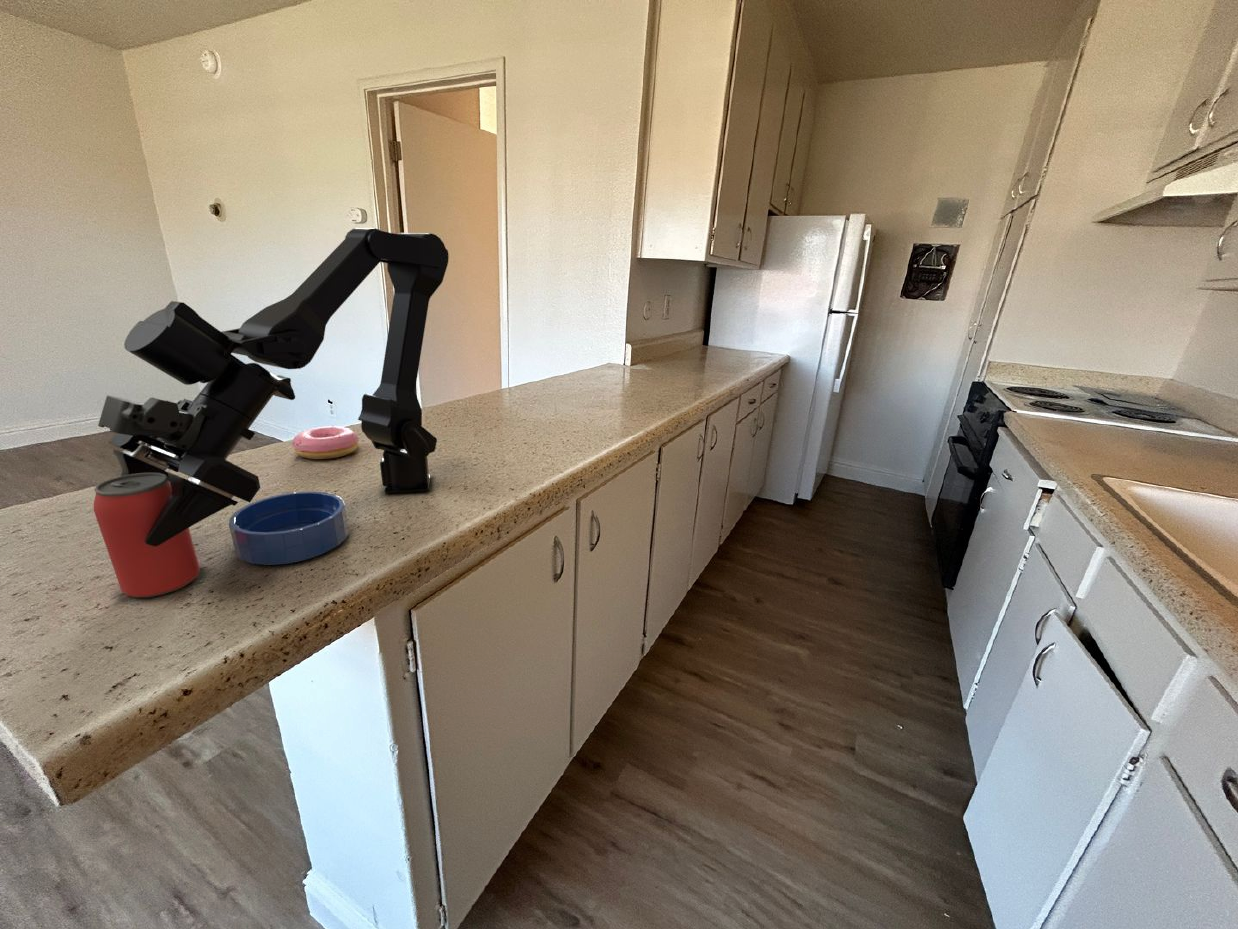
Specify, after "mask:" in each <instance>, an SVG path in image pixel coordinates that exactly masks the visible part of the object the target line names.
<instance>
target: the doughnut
mask: <svg viewBox="0 0 1238 929" xmlns="http://www.w3.org/2000/svg"><path fill="white" fill-rule="evenodd" d="M359 442H360V438H359V437H358V434H357V433H356V432H355V430H353V429H350V428H349V427H344V426H343V427H342V426H334V425H332V426H320V427H314V428H309V429H306V430H302V431H301V432H299V433H298V434H297V435H296V436H294V438H293V441H292V442H291V445H292V448H293V450H294V452H295V453H296V454H297V455H298V456H300V457H302V458H304V459H308V460H309V459H310V460H330V459H337V458H340V457H344V456H346V455H347V456H348V455H349V454H351V453H353V452H354V451H355V450H356V449H357V448H358V447H359Z"/></svg>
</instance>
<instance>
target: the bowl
mask: <svg viewBox="0 0 1238 929" xmlns="http://www.w3.org/2000/svg"><path fill="white" fill-rule="evenodd" d="M228 527H229V531H230V532H229V533H230V536H231V539H232V540H231V541H232V544H233V548H234V552H235V555H236V556H237V557H238V558H239V560H241V561H243V562H246V563H249V564H253V565H264V566H265V565H267V566H273V565H285V564H293V563H298V562H302V561H306V560H309V559H313V558H315V557H318V556H320V555H323V554H325V553H327V552H329V551H331V550H333V549H335V548H336V547H338V546H340V545H341V544H342V543H343V542H344V541H345V540H346V539H347V537H348V534H349V532H350V530H349V529H350V528H349V522H348V515H347V509H346V504H345V501H344V499H343V498H341V497H340V496H339V495H337V494H335V493H334V494H333V493H330V492H326V491H325V492H324V491H298V492H295V491H294V492H288V493H282V494H276V495H273V496H269V497H265V498H262V499H259V500H256V501H253V502H250V503H248V504H246V505H245V506H243V507H241V508H240V509H238V510H236V511H234V513H233V514H232V515H231V516H230V517H229V518H228Z"/></svg>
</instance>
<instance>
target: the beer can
mask: <svg viewBox="0 0 1238 929" xmlns="http://www.w3.org/2000/svg"><path fill="white" fill-rule="evenodd" d="M168 479H169V478H168V476H167V475H165V474H161V473H153V472H152V473H137V474H130V475H125V476H121V475H120V476H116V477H113V478H110V479H107V480H104V481H102V482H101V483H99V484H97V485H96V486H95V487H94V488H93V490H94V492H95V494H94V495H95V496H94V499H93V500H94V501H93V513H94V516H95V518H96V522H97V523H98V527H99V529H100V533H101V536H102V538H103V542H104V544H105V547H106V550H107V553H108V556H109V559H110V562H111V565H112V567H113V571H114V573H115V577H116V580H117V582H118V585H119V589H120V590H121V593H122V594H125V595H127V596H129V597H131V598H132V597H133V598H154V597H157V596H158V597H159V596H162V595H167V594H170V593H173V592H175V591H177V590H179V589H181V588H184V587H185V586H187V585H189V584H190V583H192V582H193V581H194V580H195V579H196V578H197V577H198V575H199V573H200V570H201V567H200V563H199V560H198V556H197V553H196V549H195V546H194V542H193V541H194V540H193V538H192V535H191V531H190V527H189V528H187V529H186V530H184V531H182V532H181V533H179V534H177V535H176V536H174V537H172V538H171V539H169V540H167V541H165V542H164V543H162V544H160V545H159V546H151V545H148V544H146V543H145V539H146V537H147V535H148V533H149V531H150V529H151V527H152V526H153V524H154V522H155V521H156V519H157V517H158V516H159V514H160V512H161V511H162V509H163V507H164V505H165V504H166V502H167V500H168V499H169V497H170V495H171V493H172V489H171V485H170V482H169V481H168Z"/></svg>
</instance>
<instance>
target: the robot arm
mask: <svg viewBox="0 0 1238 929" xmlns="http://www.w3.org/2000/svg"><path fill="white" fill-rule="evenodd" d="M449 255H450V254H449V250H448V249H447V248H446V246H445V242H443V240H442V239H441V237H439V236H438V235H437V234H434V233H429V232H428V233H427V232H422V233H421V232H399V233H393V232H388V231H384V230H381V229H379V228H377V227H375V228H374V227H354V228H352V229H351V230H349V231H348V232H346V235H345V236H344V239H343V240H342V241H341V242H340V244H338V245H337V246H336V248H334V250H332V251H331V253H330V254H329V255H328V256H327V257H326V258H325V259H324V260H323V261H322V262H321V264H319V265H318V266H317V268H316V269H315V270H314V271H313V272H312V273H311V274H309V276H308V277H307V278H306V279H305V280H303V282H302V283H301V284H300V285H299V286H298V287H297V288H296V289H295V290H294V291H293V292H292V293H291V294H290V295H288V296H287V297H285V298H284V299H281V300H279V301H277V302H275V303H273V304H270V305H268V306H266V307H264V308H263V309H261V310H259V311H258V312H257V313H255V314H254V315H252V316H251V317H249V318H248V319H246V320H245V321H244V322H243V323H242V324H241V326H240V327H238V328H234V329H233V328H232V329H228V330H222V331H221V330H219V329H218V328H217V327H215V326H214V325H213V324H211V323H209V322H208V321H207V320H205V319H204V318H202V317H201V316H200V314H198V313H197V311H195V310H194V309H193V308H192V307H191V306H189V305H188V304H186V303H185V302H181V301H174V300H171V301H170V302H169V303H168V304H167V305H166V306H165V307H164V308H162V309H159V310H157V311H155V312H154V313H152V314H150V315H149V316H147V317H146V318H145V319H144V320H140V321H138V322H137V323H136V324H135V325H134V326H133V327H132V329H130V331H129V333H128V334H127V336H126V337H125V340H124V344H123V347H124V349H125V350H126V351H127V352H129V353H130V354H132V355H134V356H135V357H137V358H139V359H140V360H142V361H144V362H145V363H147V364H149V365H150V366H152V367H154V368H156V369H157V370H159V371H161V372H163V373H164V374H166V375H167V376H170V377H171V378H173V379H175V380H177V381H178V382H180V383H182V385H185V386H188V385H189V386H191V385H195V384H198V383H200V384H205V386H204V387H203V388H202V389H201V390H200V392H199V393H198V394H197V395H196V396H195V398H194V399H193V400H189V399H186V398H183V399H180V400H178V401H177V402H174V401H171V400H164V399H160V398H156V397H154V396H153V397H149V398H148V399H147V400H146V401H145V402H143V401H138V400H134V399H128V398H124V397H123V398H122V397H119V396H113V395H106V397H105V400H104V403H103V406H102V411H101V413H100V416H99V421H98V424H97V426H98V427H99V428H107V429H109V431H110V432H112V433H115V434H114V435H113V437H112V438H110V440H109V442H108V444H111V445H113V446H115V447H118V448H120V449H122V451H120V450H117V449H116V448H113V450H112V453H113V455H114V456H116V459H117V461H118V463H119V465H120V468H121V474H120V476H125V475H130V474H137V473H152V472H153V473H161V474H165V475H167V476H168V478H169V479H168V481H169V482H170V485H171V489H172V493H171V495H170V497H169V499H168V500H167V502H166V504H165V505H164V507H163V509H162V511H161V512H160V514H159V516H158V517H157V519H156V521H155V522H154V524H153V526H152V527H151V529H150V531H149V533H148V535H147V537H146V539H145V543H146V544H148V545H151V546H159V545H160V544H162V543H164V542H165V541H167V540H169V539H171V538H172V537H174V536H176V535H177V534H179V533H181V532H182V531H184V530H186V529H187V528H189V529H190V527H191V528H192V527H193V526H194V525H196V524H198V523H199V522H201V521H203V520H205V519H207V518H209V517H211V516H213V515H215V514H217V513H218V512H220V511H222V510H224V509H226V508H228V507H230V506H236V505H237V504H238V503H239V501H238V500H234V499H233V498H234V497H235V498H238V499H240V500H242V501H245V502H247V503H252V500H253V499H254V497H255V496H256V495H257V493H258V491H259V490H261V483H260V478H259V476H258V475H256V474H254V473H252V472H249V471H248V470H247V469H244V468H242V467H240V466H238V465H236V464H234V463H232V462H231V461H229V460H227V459H228V457H229V456H230V455H231V453H232V452H233V450H234V449H235V448H236V446H237V445H238V443H239V442H240V441H241V440H242V439H244V440H247V441H251V440H252V439H253V437H254V436H255V434H256V432H255V431H253V430H250V427H251V426H252V425H253V424H254V422H255V420H256V419H257V418H258V417H259V415H260V414H261V412H262V411H263V410H264V408H265V407H266V406H267V405H268V403H269V402H270V400H272V398H273V396H275V397H277V398H280V399H281V398H282V399H284V400H285V399H286V400H290V401H294V400H295V399H296V395H295V391H294V389H293V387H292V378H291V377H288V376H284V375H280V374H278V375H275V374H273V373H272V372H270V371H269V370H267V369H266V368H264V367H263V366H262V365H266V366H271V367H275V368H281V369H285V370H300V369H303V368H305V367H306V366H307V365H309V364H310V363H311V362H312V361H313V359H314V357H315V356H316V354H317V352H318V350H319V348H320V347H321V345H322V344H323V342H324V340H325V333H326V326H327V324H328V322H329V321H330V319H331V318H332V317H333V315H335V314H336V312H337V311H338V310H339V309H340V308H341V306H342V305H344V303H345V302H346V301H347V300H348V299H349V298H350V297H351V295H352V294H353V293H354V292H355V291H356V290H357V288H358V287H359V286H360V285H361V284H362V283H363V282H364V281H365V280H366V279H367V277H368V276H369V275H370V274H371V273H372V272H373V270H375V268H376V267H377V266H378V265H379V264H380V263H384V264H387V266H386V268H387V273H388V276H389V279H390V280H391V284H392V287H393V299H392V305H391V312H390V319H389V323H388V324H389V325H388V332H387V337H386V345H385V352H384V353H385V354H384V359H383V363H382V364H383V365H382V371H381V378H380V383H379V386H378V387H377V388H376V390H375V391H374V392H373V394H367V393H364V394H363V395H362V398H361V411H360V413H359V416H358V418H357V420H358V421H360V422H361V424H360V426H361V432H362V433H363V434H364V435H365V437H366V438H367V439H369V440H370V442H371V444H372V445H373V447H374V449H376V450H380V451H383V452H382V458H381V460H380V462H379V466H380V475H381V476H380V477H381V483H382V486H383V487H385V488H384V494H388V495H390V494H405V493H406V494H408V493H421V492H422V493H425V492H428V491H429V489H430V483H431V477H432V476H431V474H430V473H429V461H428V457H429V455H430V454H432V453H434V452H436V447H437V443H438V437H437V438H436V436H434V435H433V434H432V433H431V432H429V431H428V430H427V429H426V428H425V427H423V409H422V407H421V404H420V401H419V399H418V396H417V392H416V389H417V388H416V387H417V381H418V375H419V368H420V360H421V356H422V351H423V350H422V349H423V344H424V343H423V342H424V336H425V330H426V323H427V316H428V312H429V311H428V310H429V304H430V300H431V298H432V296H433V295H434V294H435V292H436V291H437V290H438V288H440V287H441V285H442V284H443V281H444V278H445V275H446V272H447V268H448V266H449V257H450V256H449ZM233 354H234V355H233ZM235 354H236V355H240V356H246V357H247V358H248V359H249V360H251V361H253V362H249V363H245V362H244V361H242V360H241V359H239V358H238V357H236V356H235ZM260 364H262V365H260ZM167 470H170V471H172V472H175V473H181V474H183V475H186V476H187V478H184V477H182V476H179V475H176V474H174V473H172V472H168V471H167Z"/></svg>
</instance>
